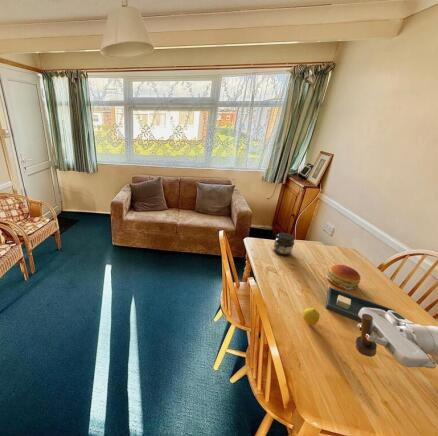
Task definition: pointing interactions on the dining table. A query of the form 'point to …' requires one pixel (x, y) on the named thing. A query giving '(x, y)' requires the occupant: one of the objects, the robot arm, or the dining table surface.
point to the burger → (343, 277)
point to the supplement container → (284, 244)
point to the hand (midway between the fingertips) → (362, 331)
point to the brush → (361, 342)
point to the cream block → (343, 302)
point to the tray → (354, 306)
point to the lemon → (311, 316)
